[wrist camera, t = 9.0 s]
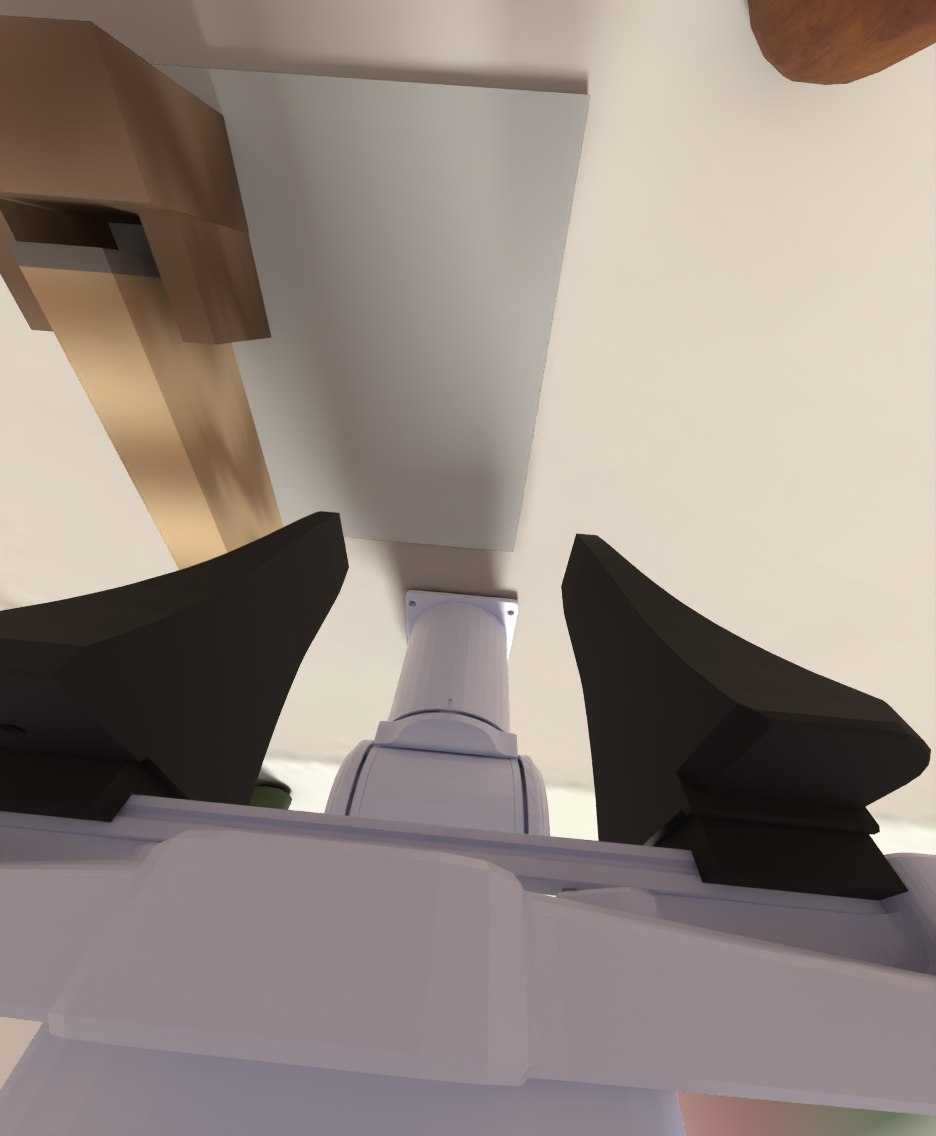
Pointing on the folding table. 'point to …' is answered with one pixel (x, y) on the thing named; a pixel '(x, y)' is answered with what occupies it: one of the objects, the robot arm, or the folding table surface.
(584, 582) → the robot arm
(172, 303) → the bracket
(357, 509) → the mat
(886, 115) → the folding table surface
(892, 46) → the wooden figurine
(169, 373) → the rail
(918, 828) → the folding table surface
